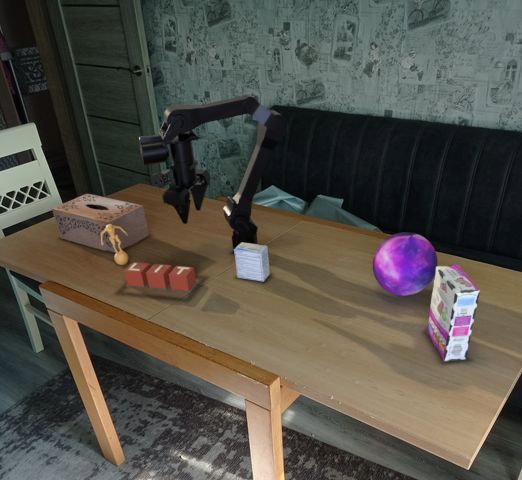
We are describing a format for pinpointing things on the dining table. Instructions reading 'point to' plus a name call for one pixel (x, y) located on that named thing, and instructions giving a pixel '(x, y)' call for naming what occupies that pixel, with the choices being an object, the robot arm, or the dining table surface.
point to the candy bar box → (452, 312)
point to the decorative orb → (404, 263)
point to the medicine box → (252, 261)
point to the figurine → (120, 256)
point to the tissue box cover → (100, 221)
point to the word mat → (165, 289)
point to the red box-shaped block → (159, 276)
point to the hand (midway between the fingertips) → (191, 216)
